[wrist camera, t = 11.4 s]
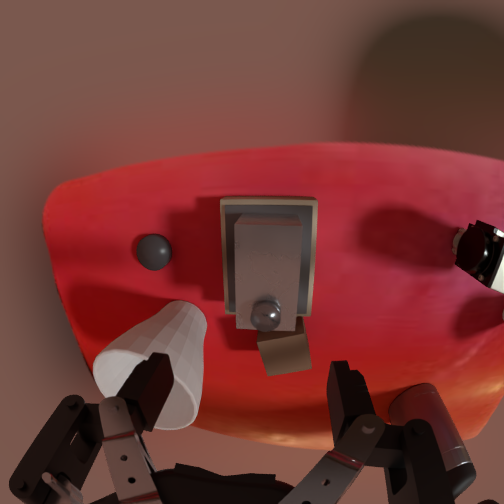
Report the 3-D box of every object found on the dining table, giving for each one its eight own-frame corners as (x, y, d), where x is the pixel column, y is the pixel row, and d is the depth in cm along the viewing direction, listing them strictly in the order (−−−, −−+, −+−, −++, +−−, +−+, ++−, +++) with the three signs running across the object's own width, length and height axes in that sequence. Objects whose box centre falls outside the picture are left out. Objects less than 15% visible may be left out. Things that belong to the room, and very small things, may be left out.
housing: (242, 213, 25) (232, 227, 19) (297, 214, 25) (303, 229, 19) (243, 301, 28) (234, 334, 22) (292, 303, 27) (295, 337, 22)
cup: (223, 285, 31) (188, 361, 18) (226, 357, 34) (204, 438, 22) (141, 280, 32) (78, 339, 19) (153, 348, 35) (111, 416, 23)
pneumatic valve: (482, 271, 27) (535, 310, 16) (426, 247, 28) (485, 289, 16) (495, 234, 26) (553, 263, 14) (440, 203, 26) (508, 227, 14)
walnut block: (308, 342, 33) (311, 368, 28) (269, 350, 34) (267, 376, 29) (301, 309, 31) (304, 333, 27) (259, 318, 32) (256, 342, 27)
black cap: (163, 272, 32) (159, 277, 30) (137, 254, 31) (131, 257, 30) (178, 245, 31) (173, 249, 29) (150, 226, 30) (145, 229, 29)
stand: (307, 303, 31) (310, 318, 28) (230, 301, 32) (224, 315, 29) (313, 196, 27) (318, 200, 24) (226, 196, 28) (219, 200, 25)
